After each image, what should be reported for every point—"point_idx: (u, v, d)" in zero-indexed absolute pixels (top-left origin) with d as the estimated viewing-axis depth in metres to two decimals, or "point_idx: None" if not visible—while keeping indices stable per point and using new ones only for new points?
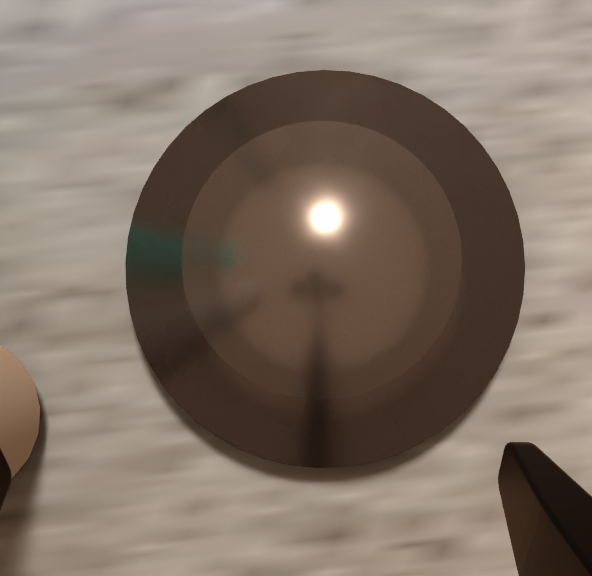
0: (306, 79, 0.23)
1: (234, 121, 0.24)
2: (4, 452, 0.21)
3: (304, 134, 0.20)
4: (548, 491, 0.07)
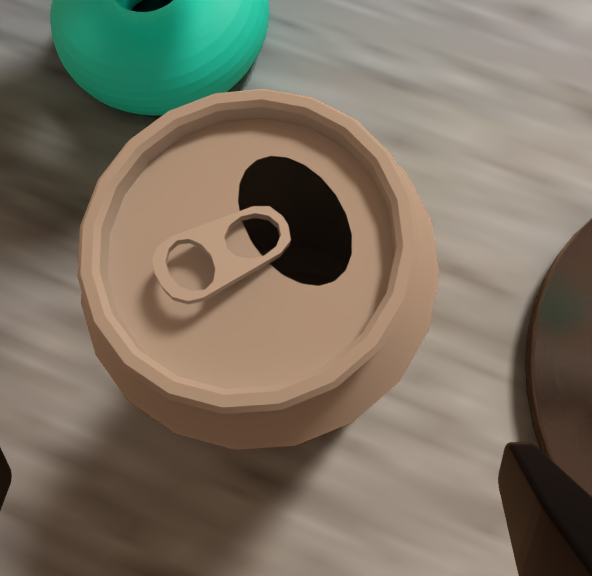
0: None
1: None
2: None
3: None
4: (548, 491, 0.07)
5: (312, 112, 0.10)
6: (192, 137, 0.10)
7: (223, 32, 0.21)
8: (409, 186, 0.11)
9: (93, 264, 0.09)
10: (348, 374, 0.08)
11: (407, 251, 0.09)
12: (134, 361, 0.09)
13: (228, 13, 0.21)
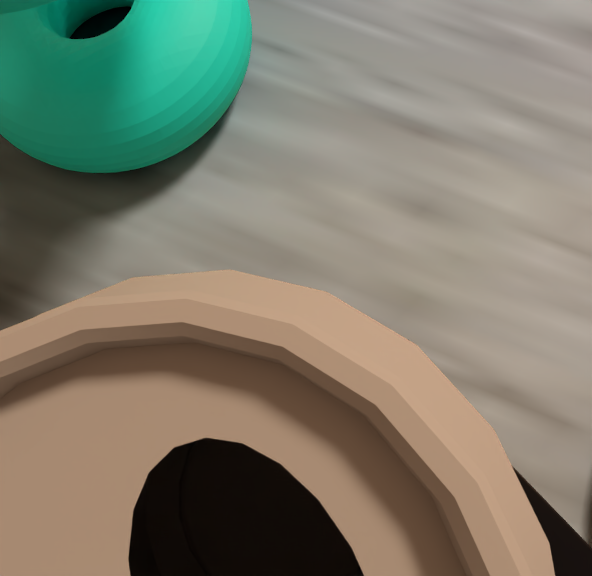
0: None
1: None
2: None
3: None
4: None
5: (297, 356, 0.04)
6: (39, 385, 0.05)
7: (187, 67, 0.16)
8: (502, 468, 0.05)
9: None
10: None
11: None
12: None
13: (194, 40, 0.16)
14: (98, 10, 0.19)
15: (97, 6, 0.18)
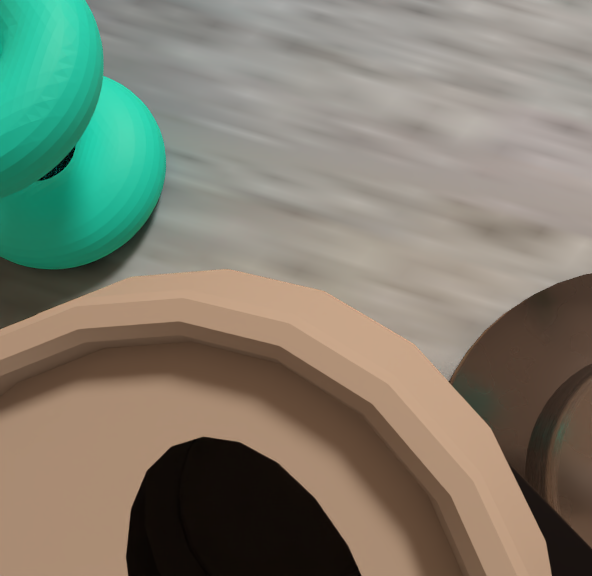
0: None
1: None
2: None
3: None
4: None
5: (294, 355, 0.04)
6: (37, 384, 0.05)
7: (117, 193, 0.22)
8: (499, 466, 0.05)
9: None
10: None
11: None
12: None
13: (120, 174, 0.22)
14: None
15: None
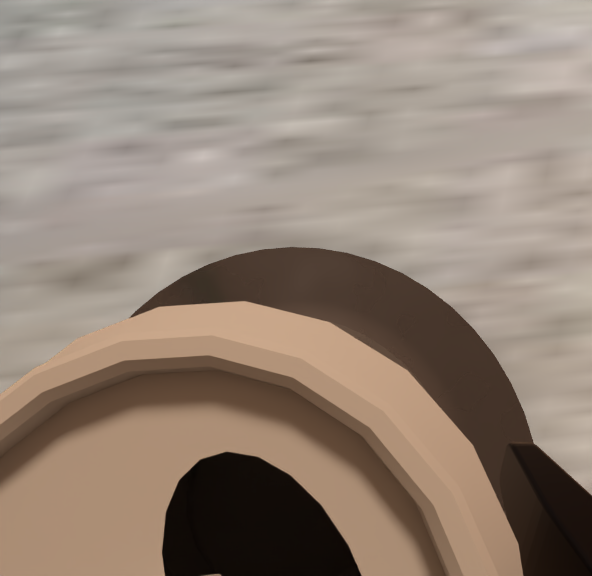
0: (272, 257, 0.21)
1: (191, 304, 0.21)
2: None
3: None
4: (549, 491, 0.07)
5: (305, 386, 0.05)
6: (85, 404, 0.06)
7: None
8: (478, 479, 0.06)
9: None
10: None
11: None
12: None
13: None
14: None
15: None
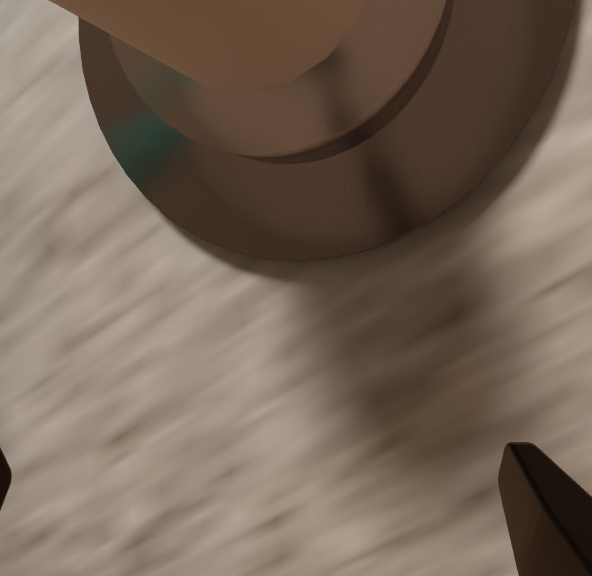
0: None
1: None
2: None
3: None
4: (548, 491, 0.07)
5: None
6: None
7: None
8: None
9: None
10: None
11: None
12: None
13: None
14: None
15: None
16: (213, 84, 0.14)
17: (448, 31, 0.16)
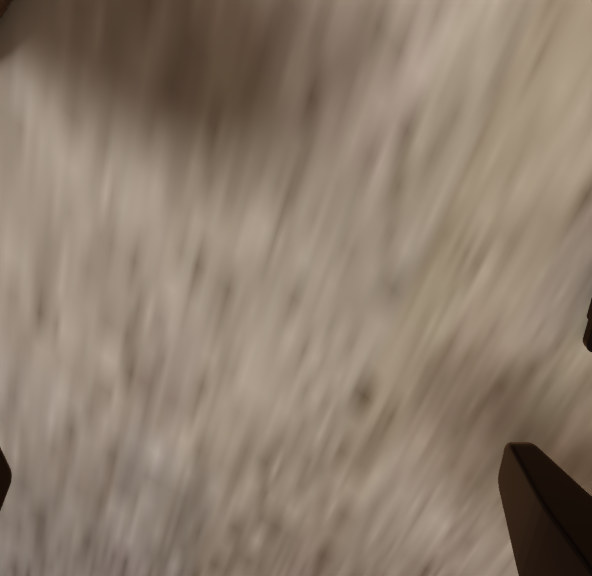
0: None
1: None
2: None
3: None
4: (548, 491, 0.07)
5: None
6: None
7: None
8: None
9: None
10: None
11: None
12: None
13: None
14: None
15: None
16: None
17: None
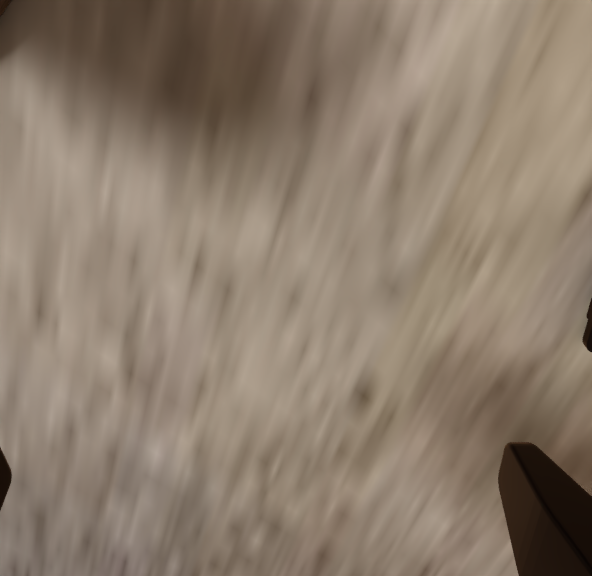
0: None
1: None
2: None
3: None
4: (548, 491, 0.07)
5: None
6: None
7: None
8: None
9: None
10: None
11: None
12: None
13: None
14: None
15: None
16: None
17: None
